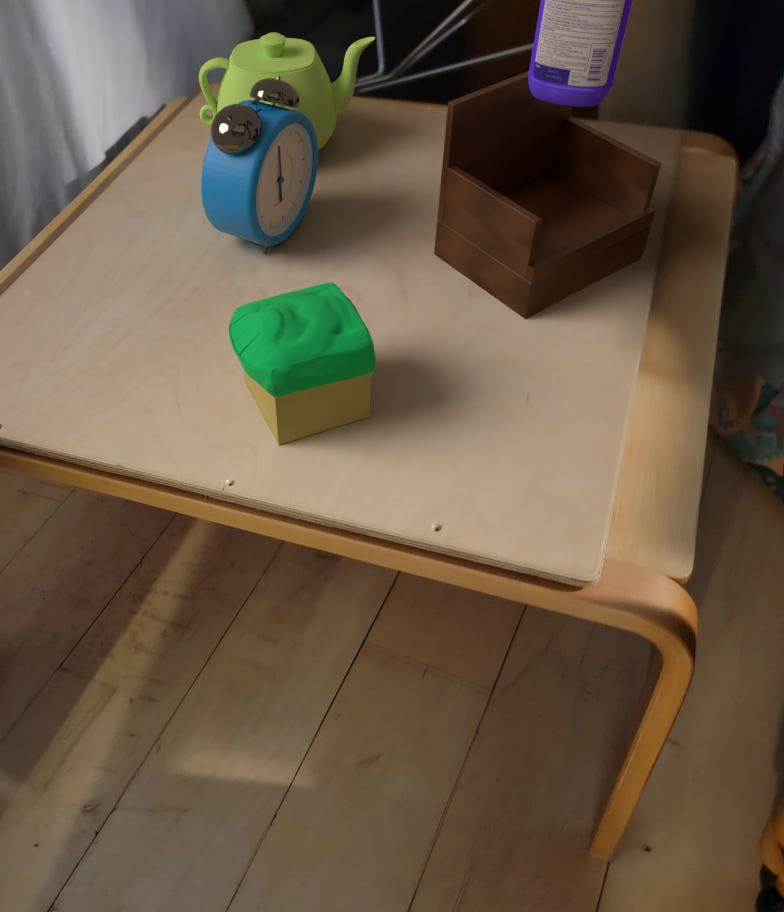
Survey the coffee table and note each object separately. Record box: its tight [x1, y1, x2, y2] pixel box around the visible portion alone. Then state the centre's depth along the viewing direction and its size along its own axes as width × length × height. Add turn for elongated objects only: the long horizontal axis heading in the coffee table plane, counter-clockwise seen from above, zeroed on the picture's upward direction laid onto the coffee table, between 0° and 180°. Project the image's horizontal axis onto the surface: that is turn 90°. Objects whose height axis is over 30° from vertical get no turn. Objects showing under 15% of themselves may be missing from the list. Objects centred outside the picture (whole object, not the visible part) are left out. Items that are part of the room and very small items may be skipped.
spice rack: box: [433, 71, 663, 320], centre depth 85 cm, size 13×16×16 cm
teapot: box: [198, 31, 376, 151], centre depth 103 cm, size 16×14×13 cm
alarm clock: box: [200, 75, 319, 255], centre depth 90 cm, size 13×6×15 cm, turn 150°
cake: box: [228, 281, 377, 446], centre depth 74 cm, size 10×11×10 cm
